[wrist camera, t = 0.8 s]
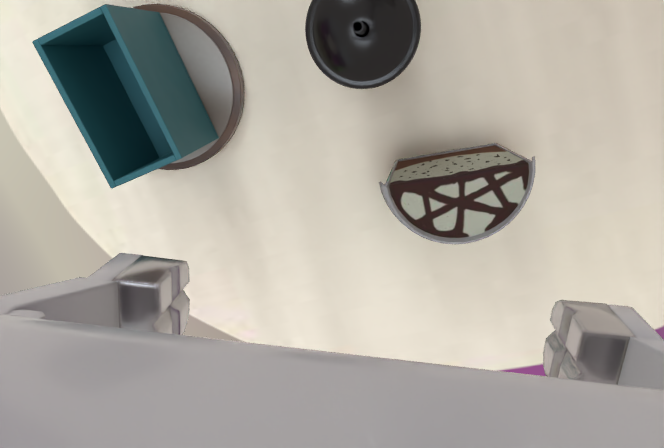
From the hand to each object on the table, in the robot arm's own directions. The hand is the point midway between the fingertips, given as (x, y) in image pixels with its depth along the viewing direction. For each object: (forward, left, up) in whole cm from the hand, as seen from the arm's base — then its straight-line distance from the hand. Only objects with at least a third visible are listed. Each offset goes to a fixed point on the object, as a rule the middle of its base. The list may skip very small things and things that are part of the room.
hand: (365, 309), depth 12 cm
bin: (+2, -20, -40) cm, 45 cm away
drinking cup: (-6, -2, -42) cm, 42 cm away
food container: (+6, +8, -42) cm, 43 cm away
